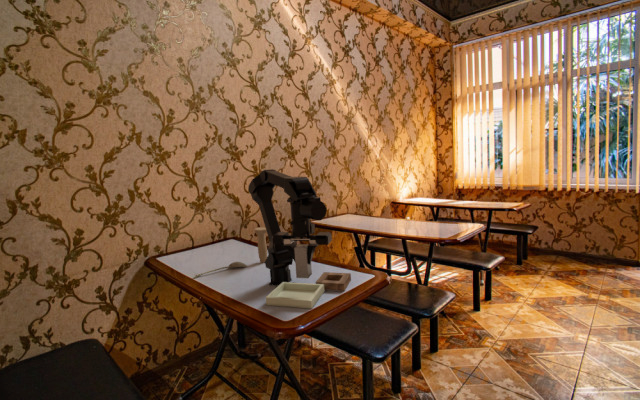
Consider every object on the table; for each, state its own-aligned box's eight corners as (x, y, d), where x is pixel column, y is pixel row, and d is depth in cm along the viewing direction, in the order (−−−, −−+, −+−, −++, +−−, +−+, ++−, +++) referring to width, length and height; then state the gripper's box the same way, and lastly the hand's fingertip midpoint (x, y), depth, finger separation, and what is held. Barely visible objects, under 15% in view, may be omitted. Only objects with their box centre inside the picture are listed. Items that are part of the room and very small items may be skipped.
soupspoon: (249, 269, 145) (243, 266, 151) (249, 261, 145) (243, 259, 150) (197, 280, 133) (192, 277, 138) (196, 272, 132) (192, 269, 138)
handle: (264, 259, 154) (261, 226, 152) (272, 261, 150) (269, 228, 148) (255, 261, 151) (252, 228, 149) (262, 264, 146) (259, 230, 145)
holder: (315, 289, 116) (315, 282, 115) (324, 278, 125) (324, 272, 125) (344, 291, 113) (344, 283, 112) (351, 280, 122) (350, 273, 122)
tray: (266, 305, 106) (265, 297, 105) (283, 288, 118) (282, 282, 118) (311, 308, 101) (311, 300, 101) (324, 291, 113) (324, 284, 113)
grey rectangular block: (296, 277, 109) (294, 247, 108) (300, 273, 113) (298, 244, 112) (308, 278, 108) (306, 247, 107) (311, 273, 112) (309, 244, 111)
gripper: (334, 211, 113) (336, 257, 116) (282, 212, 118) (285, 255, 121) (326, 218, 103) (329, 268, 105) (269, 218, 108) (273, 266, 110)
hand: (303, 263), depth 110 cm, fingers closed on grey rectangular block, 4 cm apart
